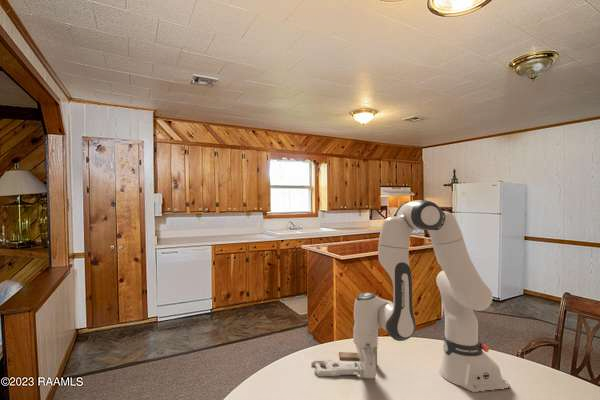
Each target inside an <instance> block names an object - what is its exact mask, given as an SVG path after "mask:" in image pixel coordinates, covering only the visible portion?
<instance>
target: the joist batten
mask: <svg viewBox="0 0 600 400" xmlns="http://www.w3.org/2000/svg"><path fill="white" fill-rule="evenodd" d="M338 357H339V360H343V361H344V360H348V361H349V360H350V361H360V359H359V355H358V352H347V351H346V352H345V351H342V352H341V351H340V352H338Z"/></svg>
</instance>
